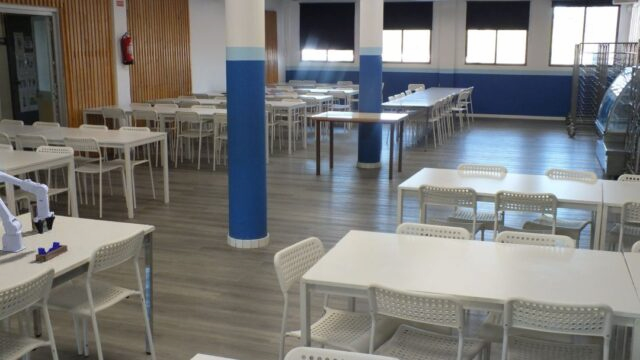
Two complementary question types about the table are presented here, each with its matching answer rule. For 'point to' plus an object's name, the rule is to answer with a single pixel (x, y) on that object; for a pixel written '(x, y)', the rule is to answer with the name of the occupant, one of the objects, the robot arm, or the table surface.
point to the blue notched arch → (55, 246)
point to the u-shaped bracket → (51, 254)
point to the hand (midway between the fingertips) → (45, 231)
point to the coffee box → (34, 214)
